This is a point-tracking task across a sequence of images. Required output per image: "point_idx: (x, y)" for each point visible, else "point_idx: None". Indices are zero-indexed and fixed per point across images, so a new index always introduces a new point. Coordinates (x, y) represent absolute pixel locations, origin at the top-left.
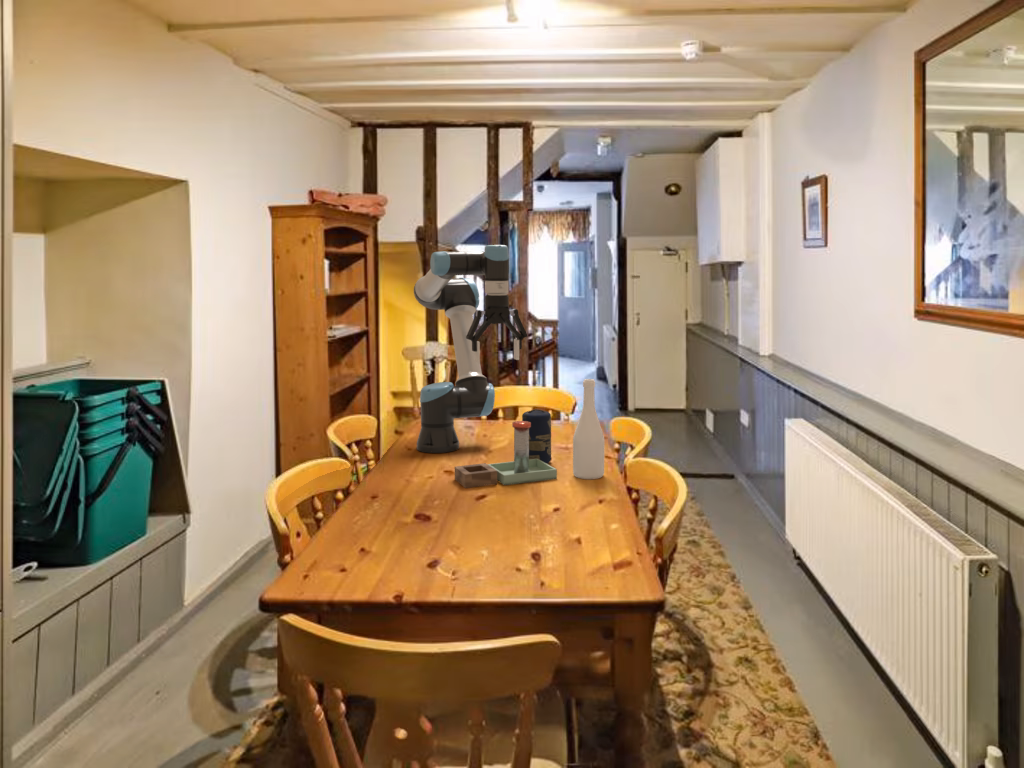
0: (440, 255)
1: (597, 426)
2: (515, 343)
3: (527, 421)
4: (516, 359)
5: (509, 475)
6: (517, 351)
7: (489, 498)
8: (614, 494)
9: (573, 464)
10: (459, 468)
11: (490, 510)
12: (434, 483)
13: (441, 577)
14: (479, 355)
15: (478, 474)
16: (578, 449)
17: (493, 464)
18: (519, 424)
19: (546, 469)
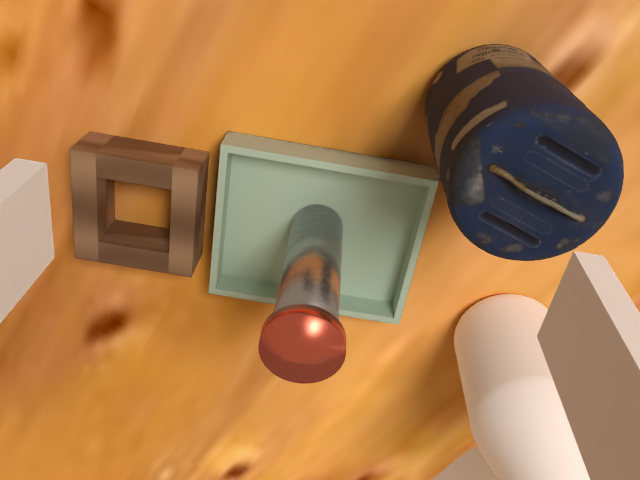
0: None
1: None
2: (630, 464)
3: (343, 342)
4: (544, 322)
5: (227, 295)
6: (570, 415)
7: (125, 343)
8: (426, 467)
9: (464, 339)
10: (79, 181)
11: (93, 409)
12: (8, 135)
13: None
14: (9, 304)
15: (124, 264)
16: (466, 406)
17: (243, 154)
18: (274, 370)
19: (406, 257)
